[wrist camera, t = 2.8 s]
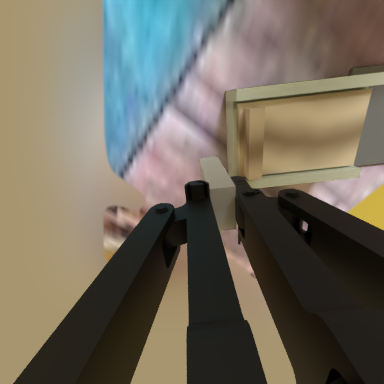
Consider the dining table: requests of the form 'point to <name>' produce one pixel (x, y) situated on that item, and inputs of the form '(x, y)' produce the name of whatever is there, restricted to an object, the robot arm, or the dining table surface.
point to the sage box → (286, 92)
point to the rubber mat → (372, 123)
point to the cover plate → (300, 132)
